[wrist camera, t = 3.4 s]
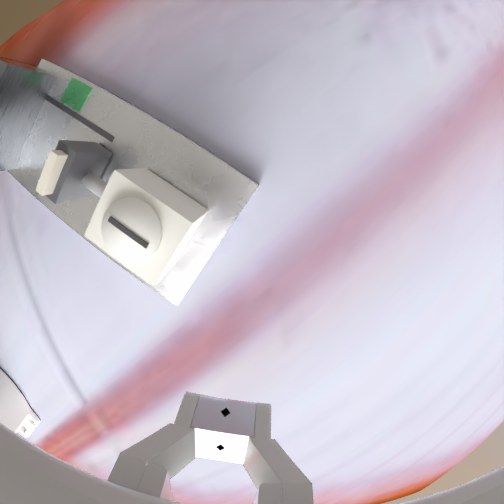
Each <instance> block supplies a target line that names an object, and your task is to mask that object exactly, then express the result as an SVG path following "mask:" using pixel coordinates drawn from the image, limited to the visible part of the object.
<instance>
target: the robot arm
mask: <svg viewBox="0 0 504 504" xmlns="http://www.w3.org/2000/svg"><path fill="white" fill-rule="evenodd" d="M39 423H40V419H39V418H38V417H37V415H36V414H35V413H34V412H33V411H32V409H31V408H30V406H29V405H28V403H27V401H26V400H25V398H24V396H23V395H22V394H21V392H20V391H19V389H18V388H17V387H16V385H15V384H14V383H13V382H12V381H11V379H10V378H9V377H8V376H7V375H6V374H5V373H4V372H3V371H2V370H1V369H0V504H183V503H179V502H174V501H173V500H174V497H173V493H172V488H171V484H170V479H171V478H172V477H174V476H175V475H176V474H177V473H178V472H180V471H181V470H182V469H183V468H184V467H185V466H187V465H188V464H189V463H190V462H191V461H192V460H194V459H195V457H201V458H207V459H214V460H221V461H227V462H233V463H240V464H243V466H244V467H245V469H246V471H247V473H248V474H249V476H250V478H251V479H252V481H253V483H254V484H255V486H256V488H257V489H258V491H257V493H256V496H255V498H254V501H253V503H252V504H313V490H312V483H311V482H310V481H309V480H308V479H307V477H306V476H305V475H304V474H303V473H302V472H301V470H300V469H299V468H298V467H297V466H296V465H295V463H294V462H293V461H292V460H291V459H290V457H289V456H288V455H287V454H286V453H285V451H284V450H283V449H282V448H281V446H280V445H279V444H278V443H277V441H276V440H275V439H271V405H270V404H264V403H254V402H245V401H237V400H229V399H228V400H227V399H222V398H216V397H211V396H206V395H200V394H195V393H191V392H186V393H185V394H184V397H183V400H182V403H181V406H180V408H179V411H178V414H177V417H176V420H175V422H174V424H171V423H170V424H168V425H166V426H165V427H163V428H162V429H160V430H158V431H157V432H155V433H153V434H152V435H150V436H148V437H147V438H145V439H143V440H142V441H140V442H138V443H137V444H135V445H133V446H131V447H130V448H128V449H126V450H124V451H122V452H121V453H120V455H119V457H118V459H117V461H116V463H115V465H114V467H113V469H112V472H111V474H110V476H109V478H108V480H105V479H102V478H100V477H97V476H95V475H92V474H90V473H88V472H86V471H83V470H81V469H79V468H77V467H75V466H73V465H71V464H69V463H67V462H65V461H63V460H61V459H59V458H57V457H55V456H53V455H51V454H49V453H48V452H46V451H44V450H42V449H41V448H39V447H37V446H35V445H34V444H32V443H30V442H29V441H27V440H26V439H24V438H23V437H22V436H21V435H23V436H25V437H27V438H28V437H29V436H30V435H31V433H32V432H33V431H34V430H35V428H36V427H37V426H38V425H39ZM19 433H20V434H21V435H20V434H19ZM399 504H504V466H503V467H500V468H499V469H497V470H495V471H493V472H490V473H488V474H486V475H484V476H481V477H479V478H477V479H474V480H472V481H469V482H467V483H465V484H462V485H459V486H456V487H454V488H451V489H448V490H445V491H442V492H439V493H436V494H433V495H429V496H426V497H423V498H419V499H415V500H412V501H407V502H403V503H399Z"/></svg>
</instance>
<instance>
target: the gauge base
mask: <svg viewBox="0 0 504 504" xmlns="http://www.w3.org/2000/svg"><path fill="white" fill-rule="evenodd" d="M59 140H71V141H87V142H97V143H98V144H100V145H101V146H103V147H104V148H106V149H107V150H108V151H110V152H111V153H112V155H111V157H110V159H109V160H108V162H107V164H106V166H105V168H104V170H103V172H102V174H101V176H100V178H102V179H103V180H104V181H106V182H107V183H108V182H109V180H110V178H111V176H112V174H113V172H114V170H118V169H133V168H147V169H148V170H150V171H151V172H153V173H154V174H156V175H157V176H159V177H160V178H162V179H163V180H165V181H166V182H168V183H169V184H171V185H172V186H174V187H175V188H177V189H178V190H180V191H181V192H183V193H184V194H186V195H187V196H189V197H190V198H192V199H193V200H194V201H196V202H197V203H199V204H200V205H202V206H203V207H205V208H206V209H208V210H209V211H208V213H207V214H206V216H205V217H204V219H203V220H202V222H201V223H200V225H199V226H198V228H197V230H196V231H195V233H194V234H193V236H192V237H191V239H190V241H189V242H188V244H187V245H186V247H185V249H184V250H183V252H182V253H181V255H180V257H179V258H178V260H177V262H176V263H175V264H174V265H173V266H172V267H171V269H170V270H169V271H168V272H167V273H166V274H165V275H164V276H163V278H162V279H161V280H160V281H159V282H158V283H157V284H156V286H155V287H153V286H151V285H150V284H148V283H147V282H145V281H144V280H143V279H141V278H140V277H138V276H137V275H136V274H134V273H133V272H131V271H130V270H129V269H127V268H126V267H124V266H123V265H122V264H120V263H119V262H118V261H116V260H115V259H114V258H112V257H111V256H110V255H108V254H107V253H106V252H104V251H103V250H102V249H100V248H99V247H98V246H97V245H95V244H94V243H93V242H91V241H90V240H89V239H88V238H86V237H85V236H84V235H85V232H86V230H87V228H88V225H89V223H90V221H91V218H92V216H93V214H94V211H95V209H96V207H97V205H98V202H99V200H100V198H99V197H98V196H97V195H95V194H94V193H92V195H90V196H86V197H82V198H78V199H74V200H70V201H66V202H62V203H58V204H55V203H53V202H52V201H51V200H50V199H49V198H48V197H46V196H41V195H40V194H39V193H38V192H37V191H36V187H37V184H38V181H39V178H40V176H41V173H42V170H43V168H44V165H45V163H46V160H47V158H48V155H49V153H50V150H55V148H56V146H57V144H58V142H59ZM3 170H7V171H8V172H9V173H10V174H11V175H12V176H13V177H14V178H15V179H16V180H17V181H18V182H19V183H20V184H21V185H23V186H24V187H25V188H26V189H27V190H28V191H29V192H30V193H31V194H32V195H33V196H35V197H36V198H37V199H38V200H39V201H40V202H41V203H42V204H44V205H45V206H46V207H47V208H48V209H49V210H50V211H52V212H53V213H54V214H55V215H56V216H57V217H59V218H60V219H61V220H62V221H63V222H65V223H66V224H67V225H68V226H69V227H71V228H72V229H73V230H74V231H76V232H77V233H78V234H79V235H80V236H82V237H83V238H84V239H85V240H87V241H88V242H89V243H91V244H92V245H93V246H94V247H96V248H97V249H98V250H100V251H101V252H102V253H103V254H105V255H106V256H107V257H109V258H110V259H111V260H113V261H114V262H115V263H117V264H118V265H119V266H121V267H122V268H123V269H125V270H126V271H128V272H129V273H130V274H132V275H133V276H134V277H136V278H137V279H139V280H140V281H141V282H143V283H144V284H146V285H147V286H149V287H150V288H151V289H153V290H154V291H156V292H157V293H159V294H160V295H162V296H163V297H165V298H166V299H168V300H169V301H171V302H172V303H174V304H175V305H177V306H178V304H179V303H180V301H181V300H182V298H183V297H184V295H185V294H186V292H187V291H188V289H189V288H190V286H191V284H192V283H193V281H194V280H195V278H196V277H197V275H198V274H199V272H200V271H201V269H202V268H203V266H204V265H205V263H206V262H207V260H208V259H209V257H210V256H211V254H212V253H213V251H214V250H215V249H216V247H217V246H218V244H219V243H220V241H221V240H222V238H223V237H224V235H225V234H226V232H227V231H228V229H229V228H230V227H231V225H232V224H233V222H234V221H235V219H236V218H237V216H238V215H239V213H240V212H241V211H242V209H243V208H244V206H245V205H246V203H247V202H248V201H249V199H250V198H251V196H252V195H253V193H254V192H255V191H256V189H257V188H258V186H259V185H258V184H257V183H256V182H254V181H253V180H251V179H250V178H248V177H247V176H245V175H244V174H242V173H241V172H239V171H238V170H236V169H235V168H233V167H232V166H230V165H229V164H227V163H226V162H224V161H223V160H221V159H220V158H218V157H217V156H215V155H214V154H212V153H210V152H209V151H207V150H206V149H204V148H203V147H201V146H200V145H198V144H196V143H195V142H193V141H192V140H190V139H188V138H187V137H185V136H184V135H182V134H180V133H179V132H177V131H176V130H174V129H172V128H171V127H169V126H167V125H166V124H164V123H162V122H161V121H159V120H157V119H156V118H154V117H152V116H151V115H149V114H147V113H146V112H144V111H142V110H140V109H139V108H137V107H135V106H133V105H132V104H130V103H128V102H126V101H125V100H123V99H121V98H119V97H118V96H116V95H114V94H112V93H110V92H109V91H107V90H105V89H103V88H101V87H99V86H97V85H96V84H94V83H92V82H90V81H88V80H86V79H84V78H82V77H80V76H78V75H77V74H75V73H73V72H71V71H69V70H67V69H65V68H63V67H61V66H59V65H57V64H55V63H53V62H50V61H48V60H45V59H42V60H41V61H40V63H39V65H38V67H35V66H32V65H28V64H25V63H21V62H18V61H14V60H10V59H7V58H3V57H0V171H3Z"/></svg>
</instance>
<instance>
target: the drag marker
mask: <svg viewBox="0 0 504 504" xmlns="http://www.w3.org/2000/svg"><path fill="white" fill-rule="evenodd" d="M111 155H112V153H111V152H110V151H108V150H107V149H106V148H104V147H103V146H101V145H100V144H98V143H97V142H87V141H71V140H59V142H58V144H57V146H56V148H55V150H50V153H49V155H48V158H47V160H46V163H45V165H44V168H43V170H42V173H41V176H40V178H39V181H38V184H37V187H36V191H37V192H38V193H39V194H40V195H41V196H46V197H48V198H49V199H50V200H51V201H52V202H53V203H55V204H58V203H62V202H66V201H70V200H74V199H78V198H82V197H86V196H90V195H92V193H93V192H91V191H90V190H89V189H87V188H86V187H85V186H83V185H82V180H83V178H84V176H85V175H86V174H87V173H88V172H90V171H92V172H93V173H95V174H96V175H97V176H99V177H100V176H101V174H102V172H103V170H104V168H105V166H106V164H107V162H108V160H109V159H110V157H111Z"/></svg>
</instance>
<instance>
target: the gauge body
mask: <svg viewBox="0 0 504 504" xmlns="http://www.w3.org/2000/svg"><path fill="white" fill-rule="evenodd" d="M82 185H83V186H85V187H86V188H87V189H89V190H90V191H91V192H93V193H94V194H95V195H97V196H98V197H99V198H100V200H99V202H98V205H97V207H96V209H95V211H94V214H93V216H92V218H91V221H90V223H89V225H88V228H87V230H86V232H85V235H84V236H85V237H86V238H88V239H89V240H90V241H91V242H93V243H94V244H95V245H97V246H98V247H99V248H100V249H102V250H103V251H104V252H106V253H107V254H108V255H110V256H111V257H112V258H114V259H115V260H116V261H118V262H119V263H120V264H122V265H123V266H124V267H126V268H127V269H129V270H130V271H131V272H133V273H134V274H136V275H137V276H138V277H140V278H141V279H143V280H144V281H145V282H147V283H148V284H150V285H151V286H153V287H155V286H156V284H157V283H158V282H159V281H160V280H161V279H162V278H163V276H164V275H165V274H166V273H167V272H168V271H169V270H170V269H171V267H172V266H173V265H174V264H175V263H176V262H177V260H178V258H179V257H180V255H181V253H182V252H183V250H184V249H185V247H186V245H187V244H188V242H189V241H190V239H191V237H192V236H193V234H194V233H195V231H196V230H197V228H198V226H199V225H200V223H201V222H202V220H203V219H204V217H205V216H206V214H207V213H208V211H209V210H208V209H206V208H205V207H203V206H202V205H200V204H199V203H197V202H196V201H194V200H193V199H192V198H190V197H189V196H187V195H186V194H184V193H183V192H181V191H180V190H178V189H177V188H175V187H174V186H172V185H171V184H169V183H168V182H166V181H165V180H163V179H162V178H160V177H159V176H157V175H156V174H154V173H153V172H151V171H150V170H148V169H147V168H133V169H118V170H114V172H113V174H112V176H111V178H110V180H109V182H108V183H107V182H106V181H104V180H103V179H102V178H100V177H99V176H97V175H96V174H95V173H93V172H92V171H90V172H88V173H87V174H86V175H85V176H84V178H83V180H82Z"/></svg>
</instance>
